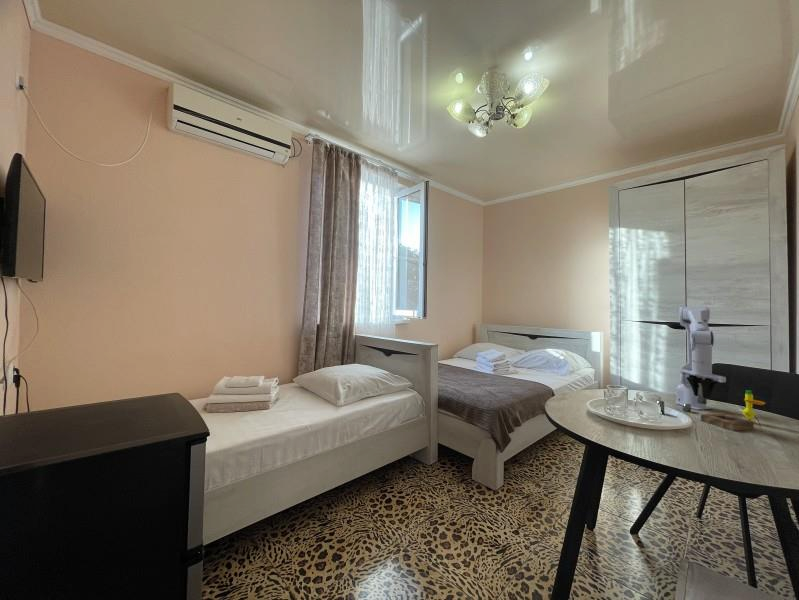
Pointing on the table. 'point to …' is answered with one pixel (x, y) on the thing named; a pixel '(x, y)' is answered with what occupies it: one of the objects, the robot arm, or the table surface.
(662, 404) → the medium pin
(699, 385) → the long pin
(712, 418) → the hole block
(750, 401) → the toy figure
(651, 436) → the table surface
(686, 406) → the short pin
